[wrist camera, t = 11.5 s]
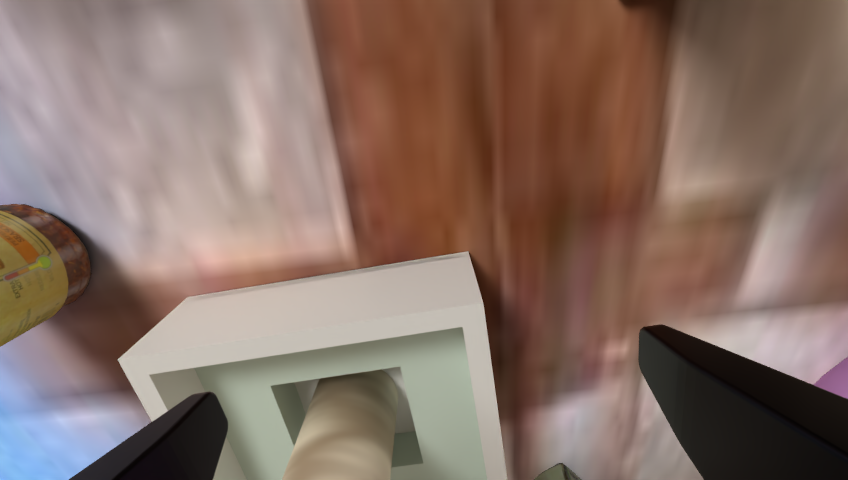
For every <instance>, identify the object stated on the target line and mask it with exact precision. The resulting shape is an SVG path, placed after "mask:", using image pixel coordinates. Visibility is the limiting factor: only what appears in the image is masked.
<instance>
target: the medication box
mask: <svg viewBox="0 0 848 480" xmlns="http://www.w3.org/2000/svg"><path fill="white" fill-rule="evenodd" d="M534 480H581V479H580V478H579V477H578V476H577V475H576V474H575V473H573V472H572V471H571V470H570V469H569V468H568V467H567V466H565V465H564V464H563V463H559V464H557V465H555V466H553V467H551V468H550V469H548V470H546V471H544V472H543V473H542V474H540V475H539V476H538V477H537V478H535V479H534Z"/></svg>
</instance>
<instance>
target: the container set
mask: <svg viewBox="0 0 848 480" xmlns="http://www.w3.org/2000/svg"><path fill="white" fill-rule="evenodd" d="M814 386H817V387H819V388H822V389H824V390H827V391H829V392H832V393H834V394H837V395H839V396H842V397H844V398H847V399H848V357H847V358H846V359H844V360H843V361H841V362H840V363H839V364H838V365H836V366H835V367H834V368H832V369H831V370H830V371H828V372H827V373H826V374H824V375H823V376H822V377H821V378H820V379H819V380H818V381H817V382H816V383H815V384H814Z"/></svg>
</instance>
